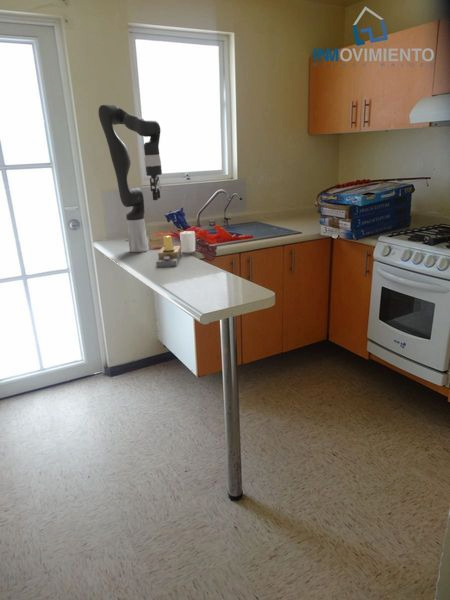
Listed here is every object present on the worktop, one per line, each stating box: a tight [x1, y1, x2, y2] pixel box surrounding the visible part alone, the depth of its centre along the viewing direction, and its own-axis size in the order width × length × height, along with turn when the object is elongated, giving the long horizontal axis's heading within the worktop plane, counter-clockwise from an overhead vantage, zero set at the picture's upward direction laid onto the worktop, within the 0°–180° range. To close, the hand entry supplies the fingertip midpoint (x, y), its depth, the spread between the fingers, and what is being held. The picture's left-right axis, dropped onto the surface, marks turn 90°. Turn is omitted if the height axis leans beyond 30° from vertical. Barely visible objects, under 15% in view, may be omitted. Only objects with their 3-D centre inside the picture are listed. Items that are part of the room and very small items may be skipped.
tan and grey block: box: [155, 243, 182, 268], centre depth 207 cm, size 9×22×6 cm, turn 179°
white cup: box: [179, 230, 196, 254], centre depth 225 cm, size 8×8×10 cm
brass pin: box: [162, 235, 173, 252], centre depth 206 cm, size 4×4×12 cm
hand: (156, 199), depth 213 cm, fingers open, 8 cm apart
